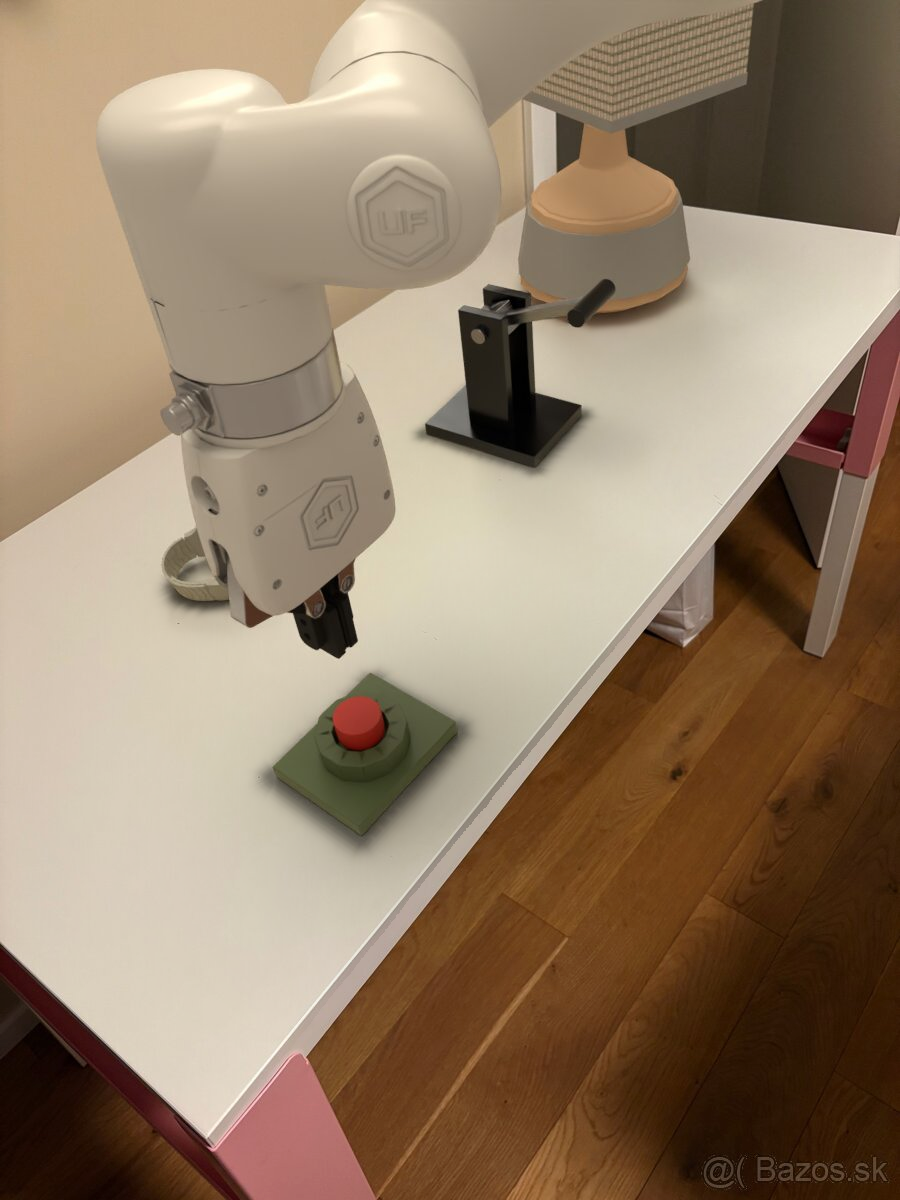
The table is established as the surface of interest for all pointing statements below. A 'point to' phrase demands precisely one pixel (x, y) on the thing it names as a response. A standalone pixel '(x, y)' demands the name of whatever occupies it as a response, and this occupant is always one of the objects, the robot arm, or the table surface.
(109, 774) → the table surface
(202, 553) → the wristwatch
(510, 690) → the table surface
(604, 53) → the desk lamp
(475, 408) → the bracket
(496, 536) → the table surface
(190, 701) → the table surface
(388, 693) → the button box
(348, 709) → the button
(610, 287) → the lever
